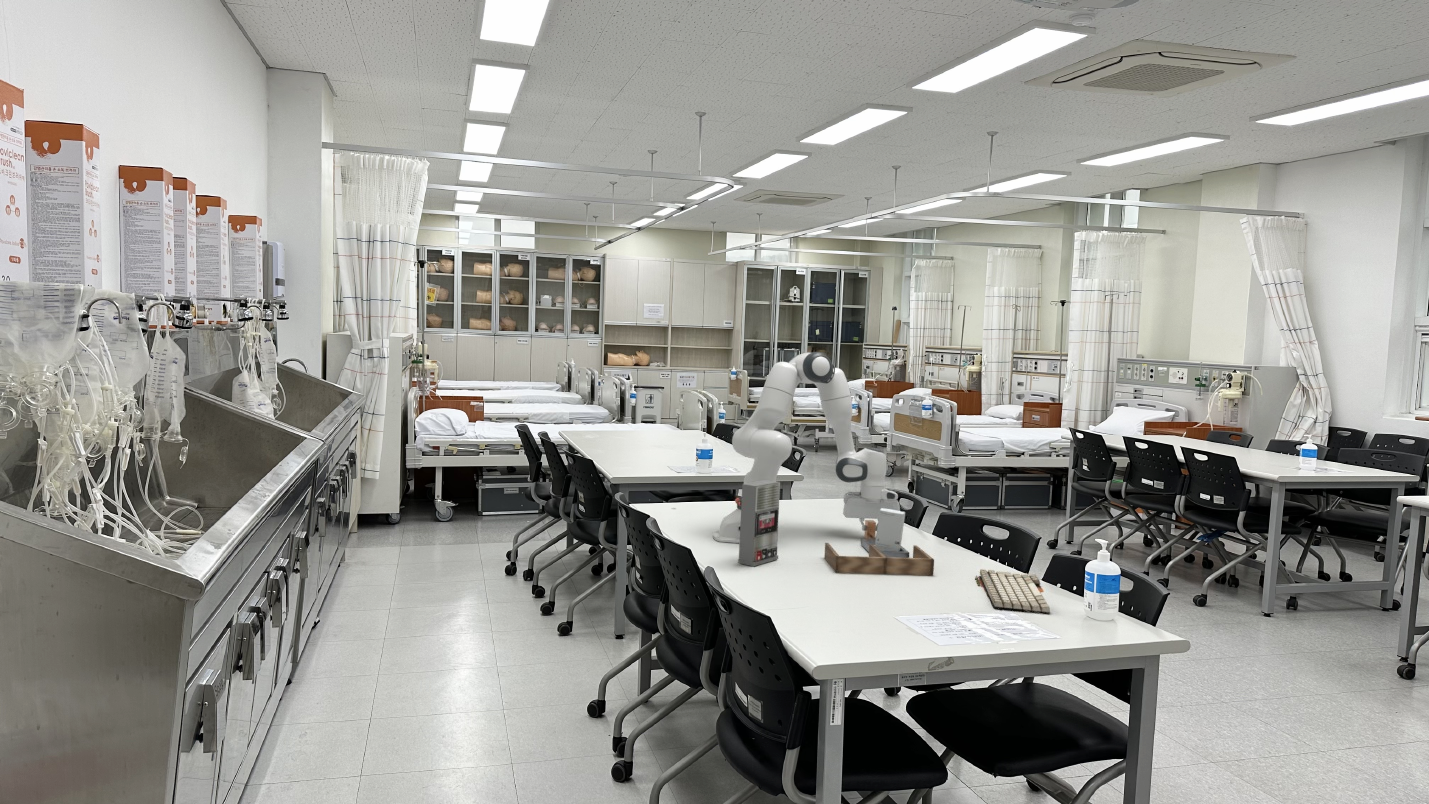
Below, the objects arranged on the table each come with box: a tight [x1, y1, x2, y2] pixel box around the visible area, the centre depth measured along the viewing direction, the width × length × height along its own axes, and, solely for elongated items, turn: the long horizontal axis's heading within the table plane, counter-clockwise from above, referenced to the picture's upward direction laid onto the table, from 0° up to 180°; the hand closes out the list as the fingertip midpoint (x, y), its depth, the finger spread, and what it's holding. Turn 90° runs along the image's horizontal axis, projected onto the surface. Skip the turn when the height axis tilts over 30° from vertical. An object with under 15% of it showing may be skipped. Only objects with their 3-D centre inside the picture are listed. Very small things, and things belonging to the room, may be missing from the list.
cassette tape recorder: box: [737, 480, 781, 568], centre depth 281 cm, size 14×6×25 cm, turn 143°
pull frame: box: [860, 519, 910, 558], centre depth 310 cm, size 12×33×6 cm, turn 3°
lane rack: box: [823, 542, 935, 576], centre depth 283 cm, size 30×19×5 cm, turn 93°
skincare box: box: [874, 508, 906, 551], centre depth 299 cm, size 8×6×15 cm
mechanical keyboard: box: [974, 568, 1051, 614], centre depth 257 cm, size 38×19×3 cm, turn 170°
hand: (870, 530), depth 324 cm, fingers closed on pull frame, 3 cm apart
